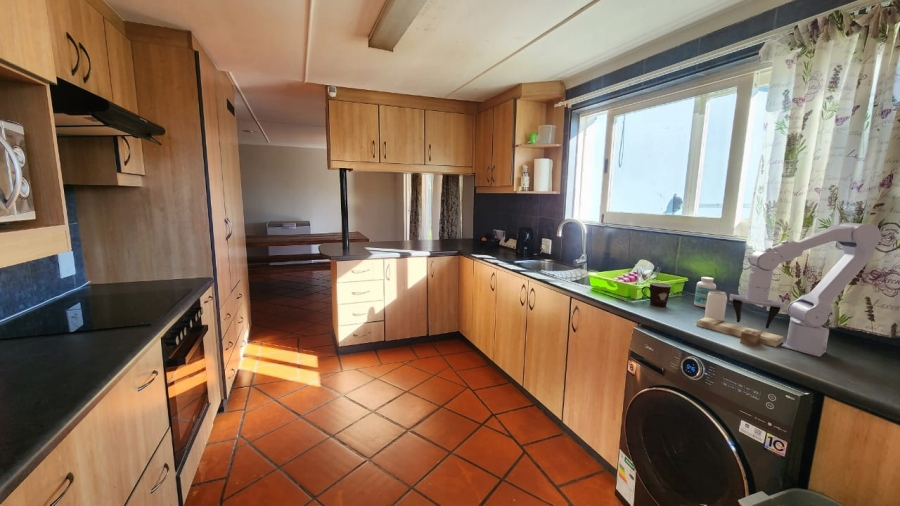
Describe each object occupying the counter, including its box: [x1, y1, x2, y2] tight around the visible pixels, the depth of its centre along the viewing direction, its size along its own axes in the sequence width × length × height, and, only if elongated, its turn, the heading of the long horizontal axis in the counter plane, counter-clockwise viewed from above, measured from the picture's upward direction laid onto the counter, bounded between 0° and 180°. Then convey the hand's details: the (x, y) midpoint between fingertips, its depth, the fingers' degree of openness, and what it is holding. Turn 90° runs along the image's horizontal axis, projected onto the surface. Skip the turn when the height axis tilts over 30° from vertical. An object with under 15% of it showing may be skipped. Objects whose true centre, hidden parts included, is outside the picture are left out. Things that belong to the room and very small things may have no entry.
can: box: [704, 289, 728, 321], centre depth 148 cm, size 6×6×12 cm
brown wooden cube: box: [739, 330, 761, 348], centre depth 125 cm, size 4×5×4 cm
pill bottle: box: [693, 276, 717, 309], centre depth 167 cm, size 8×7×14 cm
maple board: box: [696, 316, 784, 348], centre depth 134 cm, size 24×8×2 cm, turn 34°
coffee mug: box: [640, 281, 672, 309], centre depth 168 cm, size 12×9×10 cm
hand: (752, 324), depth 124 cm, fingers open, 7 cm apart
